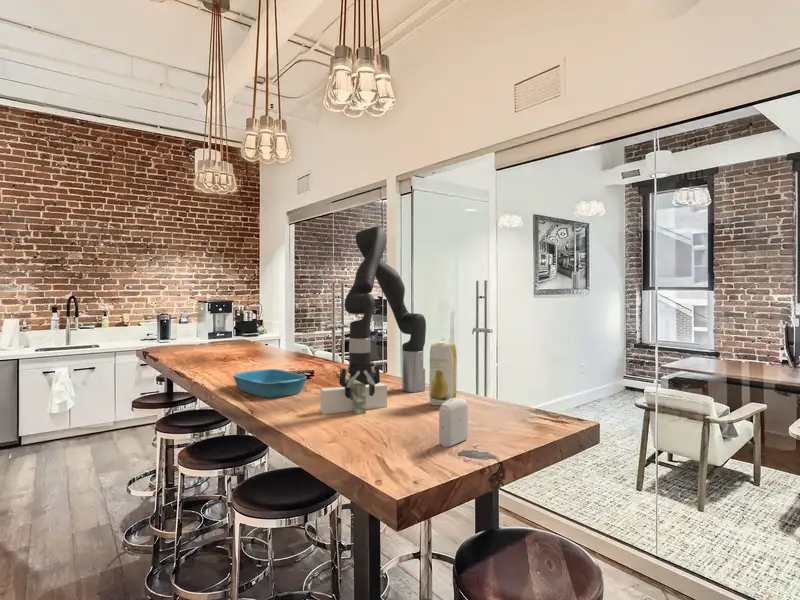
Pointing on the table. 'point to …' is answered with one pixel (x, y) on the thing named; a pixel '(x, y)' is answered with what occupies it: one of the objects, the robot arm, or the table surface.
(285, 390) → the casserole dish
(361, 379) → the phone stand
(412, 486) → the table surface
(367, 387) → the slotted beam
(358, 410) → the slotted plate
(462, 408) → the photo printer
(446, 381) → the juice carton
